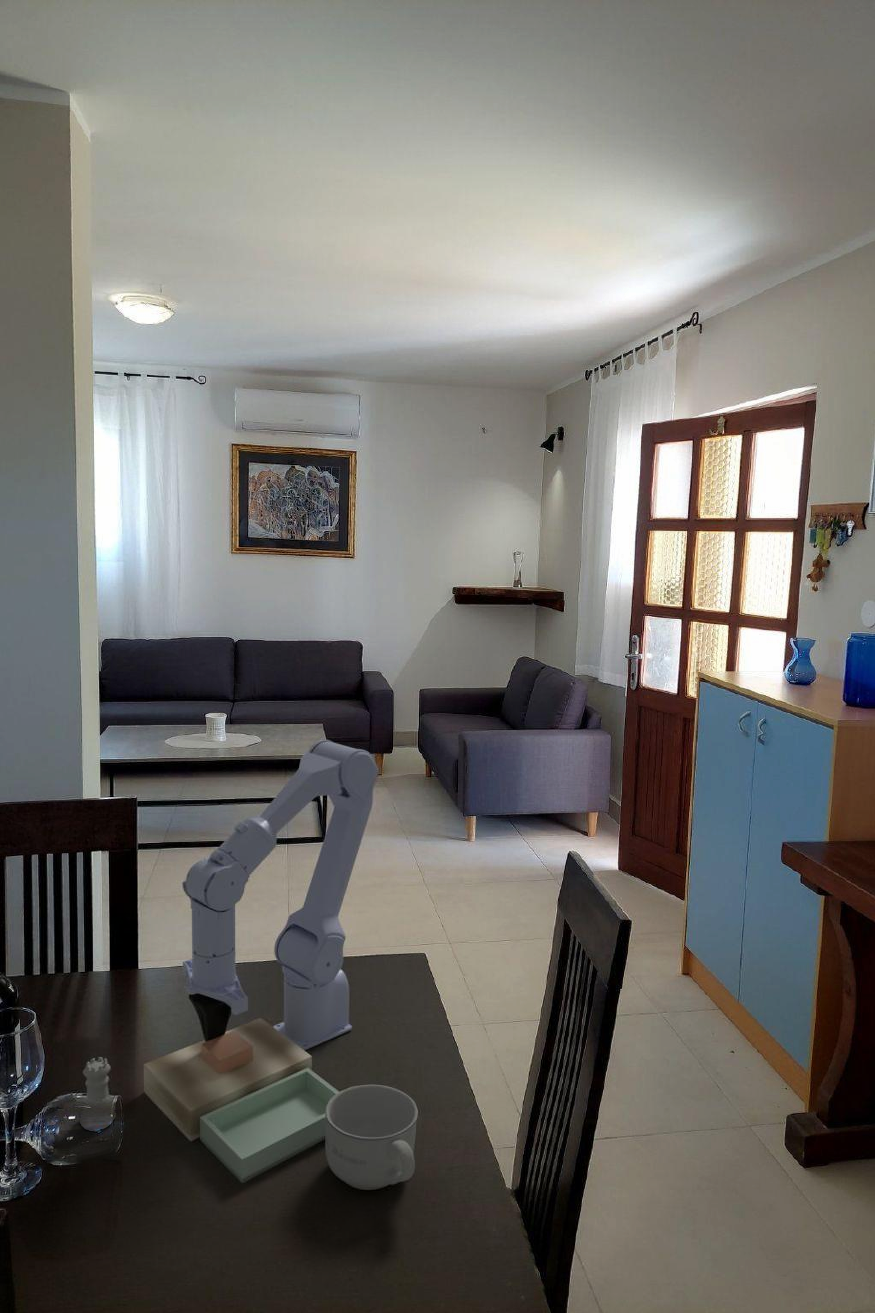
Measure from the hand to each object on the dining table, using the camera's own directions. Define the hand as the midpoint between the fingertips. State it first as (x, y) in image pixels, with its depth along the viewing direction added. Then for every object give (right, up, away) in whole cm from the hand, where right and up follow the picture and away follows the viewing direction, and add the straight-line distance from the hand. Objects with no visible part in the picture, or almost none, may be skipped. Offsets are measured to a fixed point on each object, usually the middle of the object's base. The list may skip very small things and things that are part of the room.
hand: (214, 1042), depth 122 cm
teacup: (+23, -8, -19) cm, 31 cm away
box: (+11, -7, -11) cm, 17 cm away
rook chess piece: (-12, -6, -10) cm, 17 cm away
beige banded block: (+3, -5, -2) cm, 6 cm away
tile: (+2, -1, -2) cm, 4 cm away
